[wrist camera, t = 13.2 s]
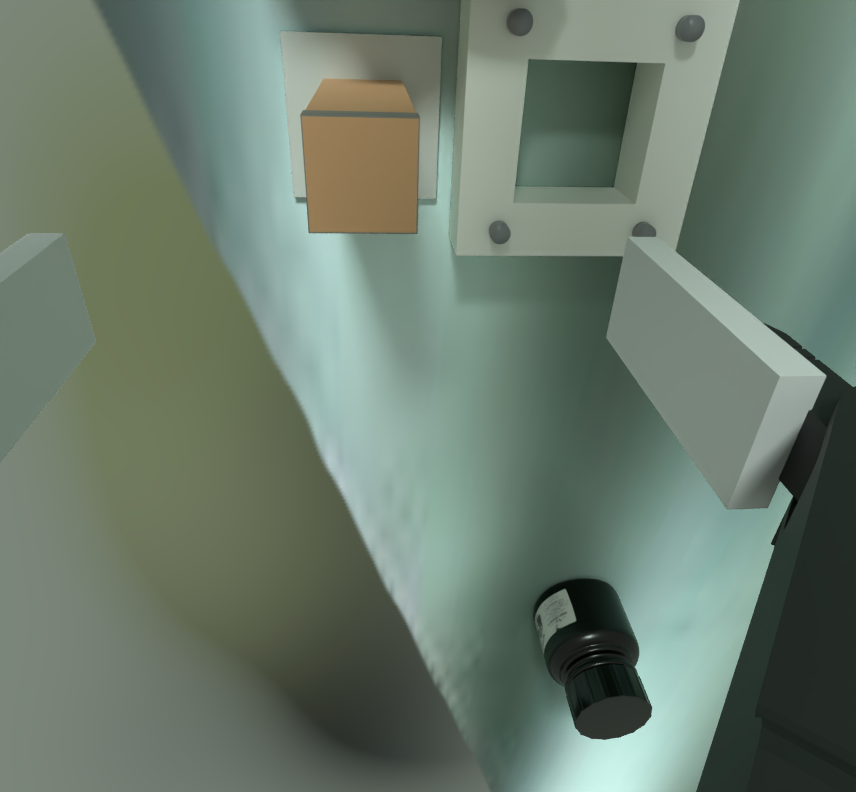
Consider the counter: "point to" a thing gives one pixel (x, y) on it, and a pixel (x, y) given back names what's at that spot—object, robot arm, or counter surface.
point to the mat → (368, 60)
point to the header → (643, 135)
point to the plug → (361, 158)
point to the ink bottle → (593, 657)
